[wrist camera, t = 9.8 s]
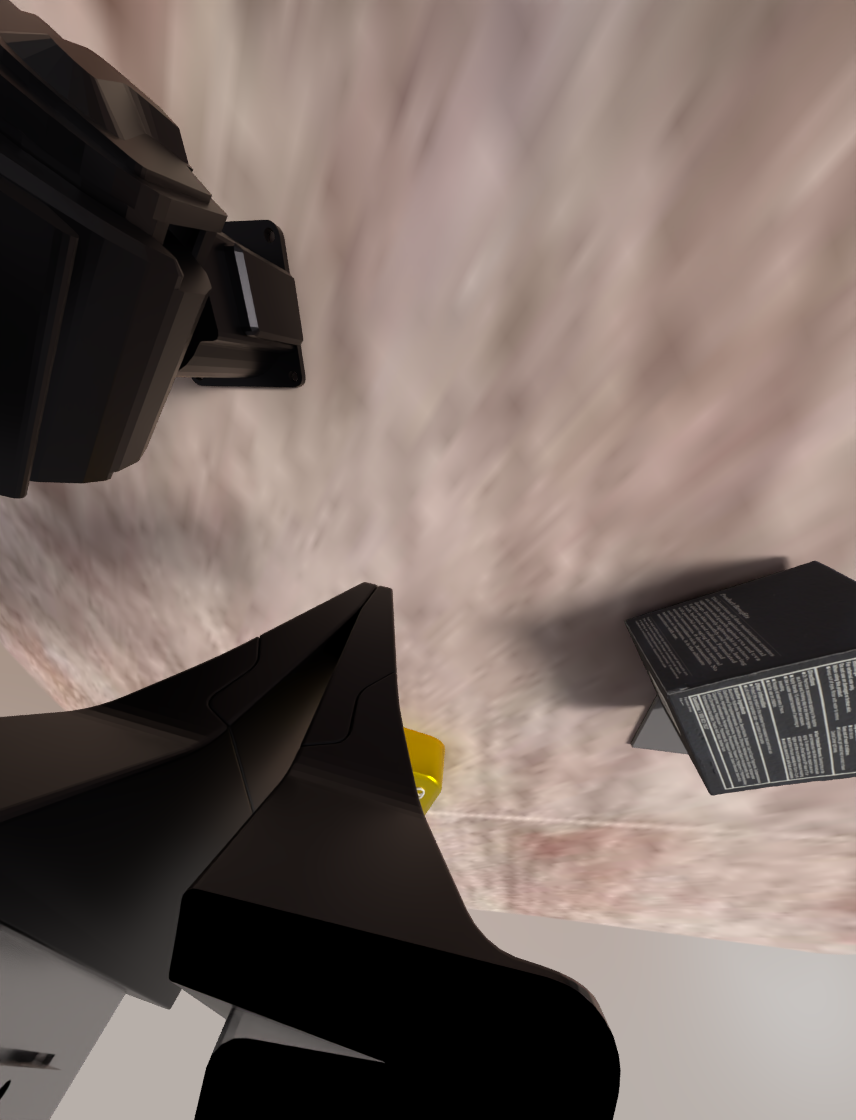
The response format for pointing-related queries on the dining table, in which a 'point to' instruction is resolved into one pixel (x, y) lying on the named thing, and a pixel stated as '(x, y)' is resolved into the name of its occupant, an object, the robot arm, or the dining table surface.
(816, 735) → the small box
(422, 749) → the element tile
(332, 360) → the dining table surface
